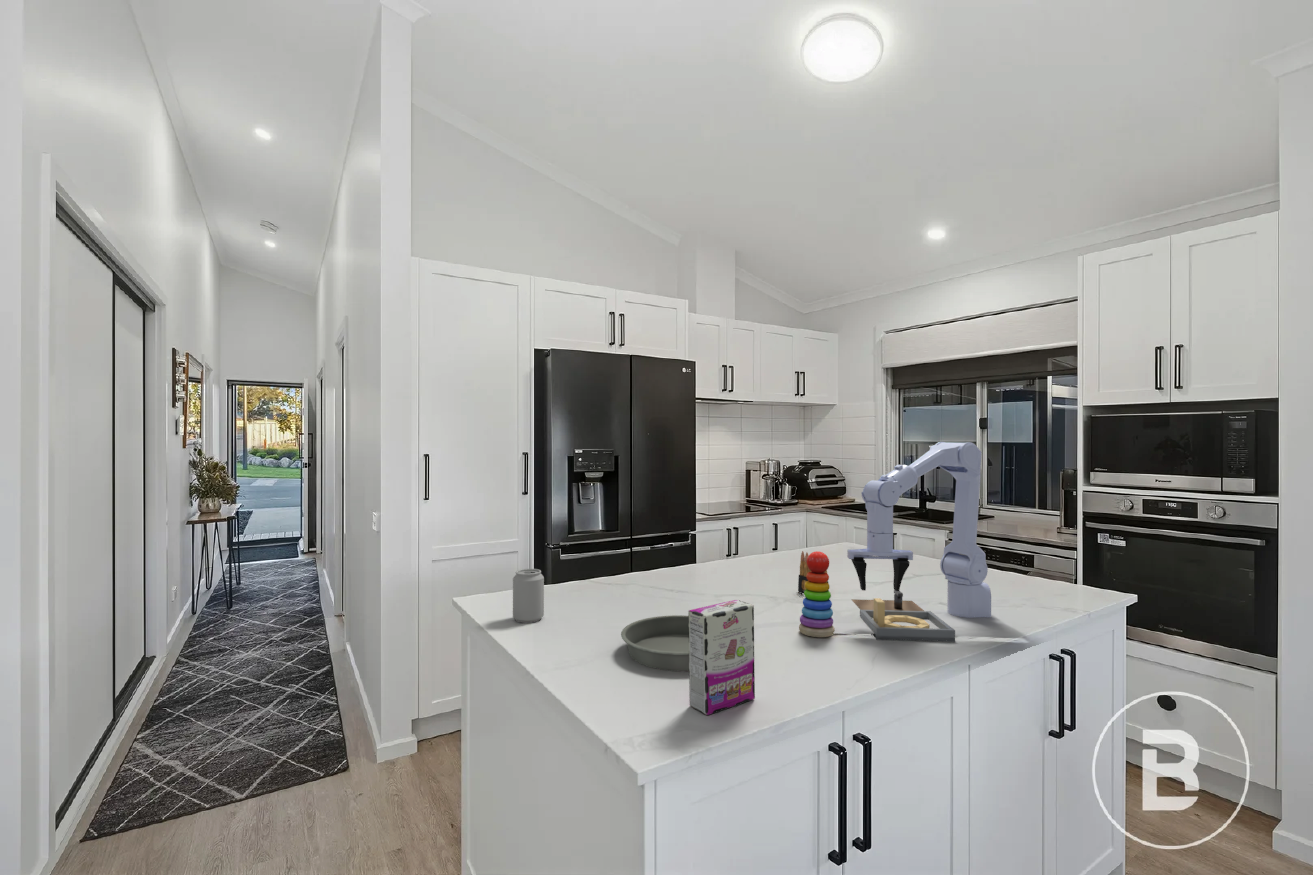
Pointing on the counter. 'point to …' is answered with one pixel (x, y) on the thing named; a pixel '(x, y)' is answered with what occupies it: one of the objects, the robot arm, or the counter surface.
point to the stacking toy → (817, 599)
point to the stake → (898, 599)
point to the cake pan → (659, 642)
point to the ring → (894, 617)
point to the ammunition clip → (803, 573)
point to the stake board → (887, 605)
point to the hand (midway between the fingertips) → (879, 589)
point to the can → (528, 595)
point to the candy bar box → (721, 656)
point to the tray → (910, 633)
